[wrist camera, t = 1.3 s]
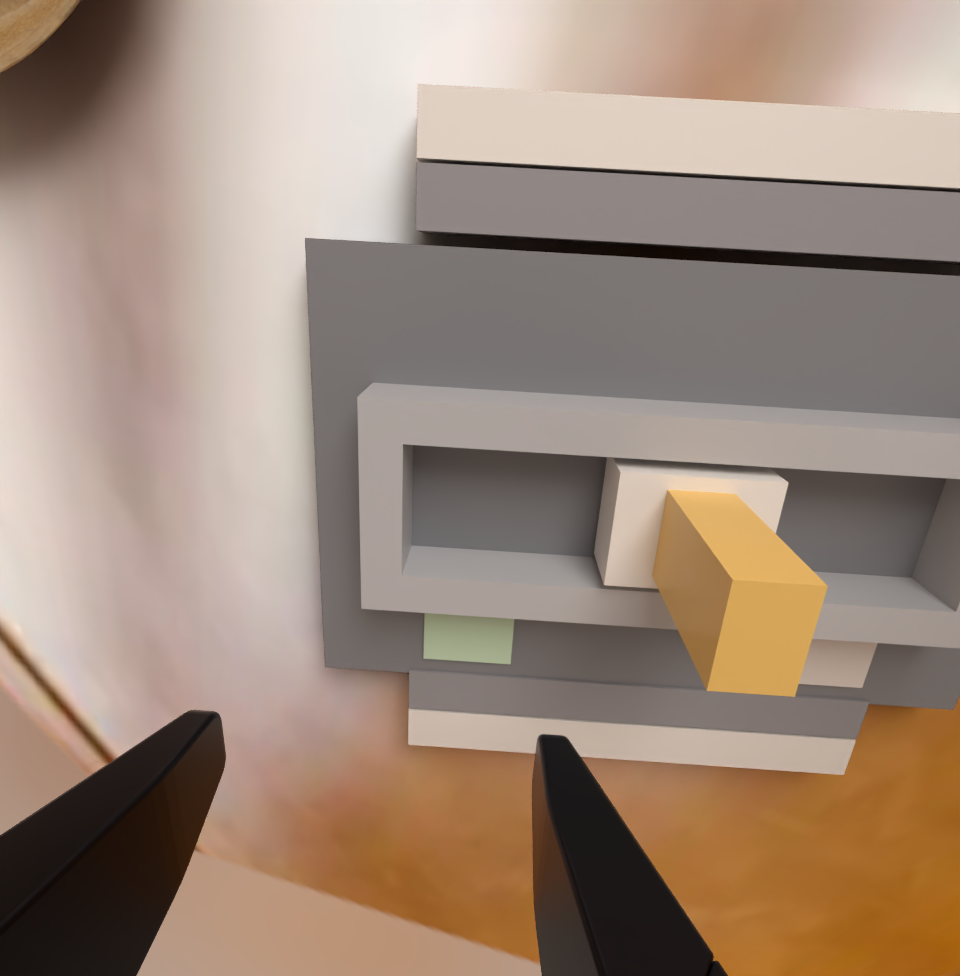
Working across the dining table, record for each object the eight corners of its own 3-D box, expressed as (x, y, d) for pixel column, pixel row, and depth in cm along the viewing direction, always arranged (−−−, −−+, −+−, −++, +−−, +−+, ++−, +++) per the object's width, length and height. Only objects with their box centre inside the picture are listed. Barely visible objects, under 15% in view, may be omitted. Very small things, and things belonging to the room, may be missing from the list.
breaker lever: (758, 459, 18) (903, 571, 11) (734, 561, 19) (852, 716, 12) (608, 449, 18) (667, 556, 11) (594, 552, 19) (640, 702, 12)
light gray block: (845, 672, 22) (869, 702, 21) (821, 741, 23) (843, 774, 22) (415, 644, 22) (409, 671, 21) (414, 714, 24) (408, 744, 22)
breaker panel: (1080, 284, 17) (1216, 289, 14) (925, 681, 22) (997, 754, 19) (320, 239, 17) (279, 234, 14) (335, 641, 22) (307, 706, 19)
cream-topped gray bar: (1023, 132, 16) (1077, 119, 14) (979, 264, 17) (1025, 265, 16) (425, 100, 16) (417, 84, 15) (423, 232, 17) (415, 230, 16)
